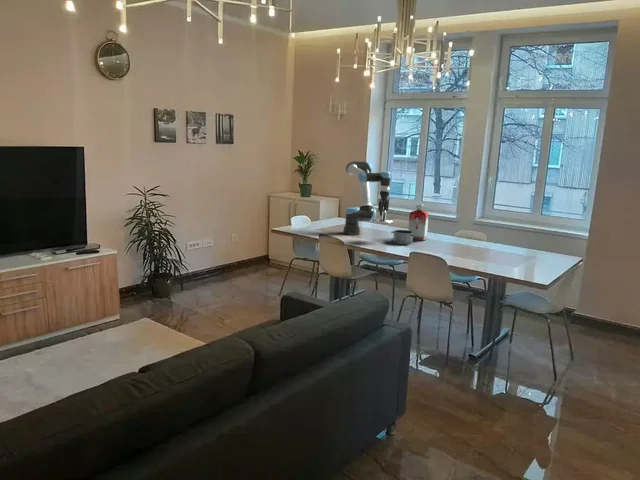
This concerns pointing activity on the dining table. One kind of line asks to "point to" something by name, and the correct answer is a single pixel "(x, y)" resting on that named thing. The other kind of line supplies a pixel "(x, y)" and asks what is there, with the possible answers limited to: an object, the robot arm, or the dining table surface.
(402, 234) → the pot
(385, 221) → the lid
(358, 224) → the robot arm
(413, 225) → the bottle
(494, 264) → the dining table surface
